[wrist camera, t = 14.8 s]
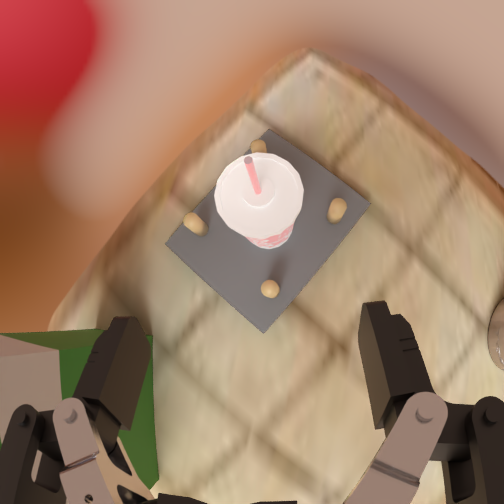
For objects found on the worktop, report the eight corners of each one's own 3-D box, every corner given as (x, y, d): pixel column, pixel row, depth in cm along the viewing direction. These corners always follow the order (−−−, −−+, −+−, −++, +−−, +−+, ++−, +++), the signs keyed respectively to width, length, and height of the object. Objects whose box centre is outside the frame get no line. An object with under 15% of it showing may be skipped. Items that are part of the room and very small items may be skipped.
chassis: (269, 135, 33) (266, 110, 29) (367, 208, 31) (379, 191, 26) (170, 246, 33) (150, 236, 28) (264, 332, 30) (259, 337, 25)
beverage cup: (226, 244, 30) (174, 195, 17) (249, 186, 31) (218, 104, 17) (288, 266, 29) (284, 231, 16) (309, 205, 30) (320, 129, 16)
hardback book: (159, 479, 28) (36, 602, 5) (105, 464, 29) (-31, 549, 6) (152, 335, 31) (-56, 360, 8) (95, 328, 32) (-97, 331, 9)
